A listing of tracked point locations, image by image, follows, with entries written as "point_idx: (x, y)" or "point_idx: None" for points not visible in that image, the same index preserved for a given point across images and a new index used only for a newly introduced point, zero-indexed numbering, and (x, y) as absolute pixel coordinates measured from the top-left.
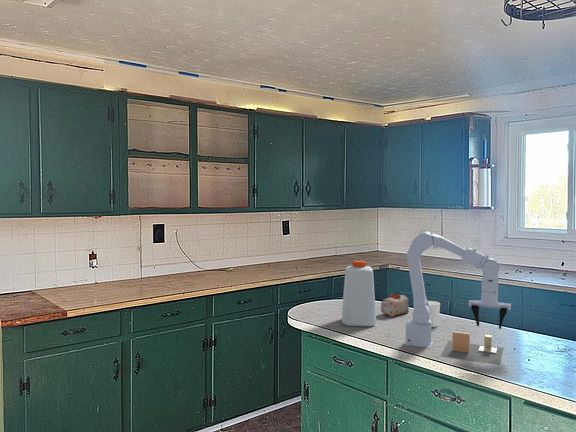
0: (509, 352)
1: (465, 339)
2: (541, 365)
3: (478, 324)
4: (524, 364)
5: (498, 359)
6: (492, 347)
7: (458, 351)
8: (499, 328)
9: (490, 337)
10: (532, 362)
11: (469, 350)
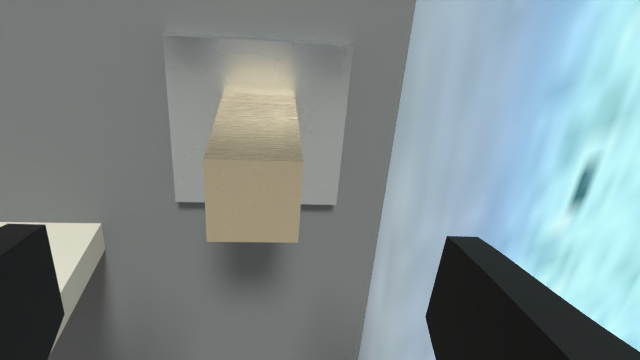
0: (466, 46)
1: None
2: (630, 269)
3: (46, 354)
4: None
5: (348, 304)
6: (303, 54)
7: None
8: (436, 323)
9: (285, 237)
10: (590, 235)
11: (96, 236)
